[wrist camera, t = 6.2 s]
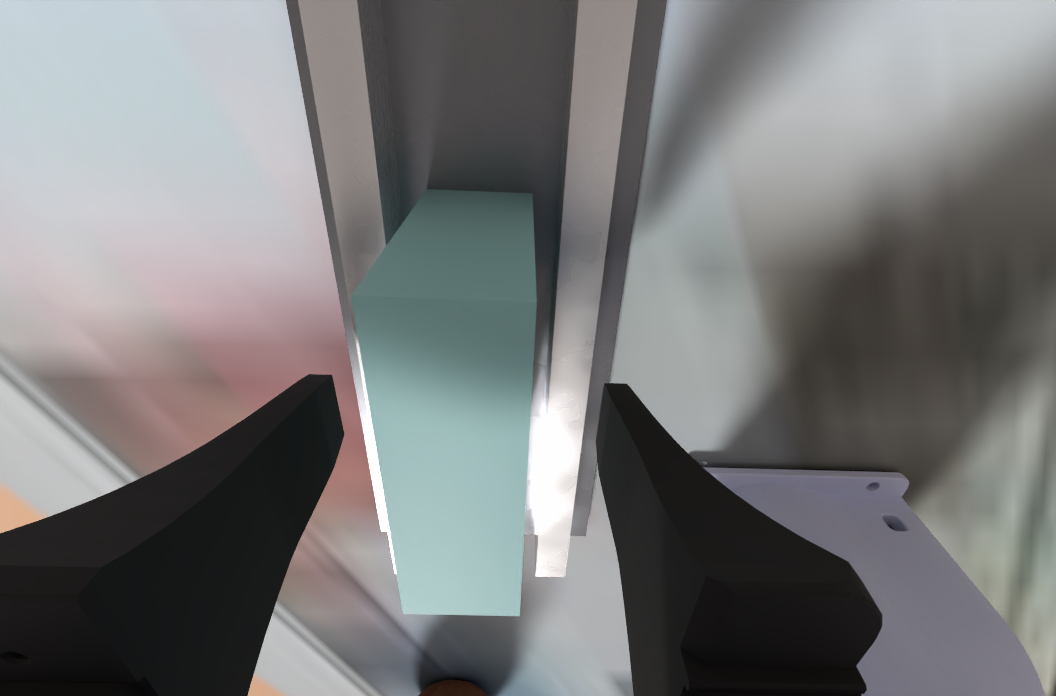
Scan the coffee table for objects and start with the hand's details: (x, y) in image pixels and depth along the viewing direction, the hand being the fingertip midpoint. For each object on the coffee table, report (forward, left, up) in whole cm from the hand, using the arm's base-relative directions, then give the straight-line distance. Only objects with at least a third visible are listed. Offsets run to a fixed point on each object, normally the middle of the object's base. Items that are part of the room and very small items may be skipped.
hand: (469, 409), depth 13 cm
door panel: (0, 0, -4) cm, 4 cm away
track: (0, -1, -4) cm, 5 cm away
